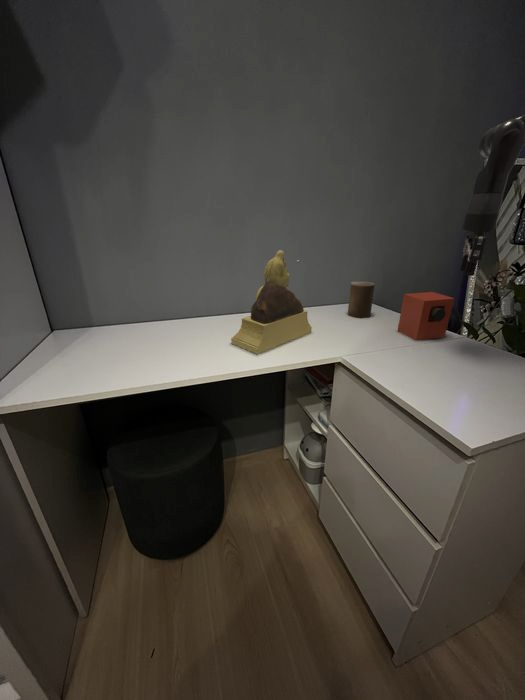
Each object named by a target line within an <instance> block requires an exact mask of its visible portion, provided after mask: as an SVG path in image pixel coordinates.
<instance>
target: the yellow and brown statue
mask: <svg viewBox="0 0 525 700" xmlns="http://www.w3.org/2000/svg"><path fill="white" fill-rule="evenodd" d="M284 257H285V252H284V251H283V250H282V249H280V250H277V251H276V254H275V255H274V256H273V258H271V259H270V260H268V262H266V263H267V264H266V266H265V269H264V270H263V271H264V272H263V278H264V284H263V285H261V286H260V287H259V288H258V290H257V292H256V294H255V301H254V303H253V304H252V306H251V307H250V315H249V316H246V317H245V316H244V317H241V325H240V328H239V330H238V331H237V333H235V334H234V335H233V336H232V337H231V338H230V339H231V340H230V341H231V342H230V343H231V344H232V345H234V346H236V347H239V348H240V349H243V350H244V351H248V352H249V353H253V354H255V355H260V354H262V353H264V352H267V351H269V350H271V349H274V348H276V347H279V346H281V345H283V344H286V343H289V342H291V341H294V340H296V339H298V338H301V337H303V336H306V335H308V334H310V333H312V329H313V327H312V326H311V324H310V322H309V319H308V310H304V307H303V305H302V302H301V301H300V300H299V299H298V298H297V297H296V295H295V293H294V292H292V291H291V290H289V289H288V287H289V281H290V273H288V266H287V262H286V260H285V258H284Z"/></svg>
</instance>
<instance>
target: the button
mask: <svg viewBox="0 0 525 700" xmlns="http://www.w3.org/2000/svg"><path fill="white" fill-rule="evenodd" d="M445 314H446V313H445V310H444V309H441V308H435V309H434V310H433V311H432V312H431V314H430V317H431V319H432V320H434V321H437V322H439V321H441V320H443V318H444V317H445Z"/></svg>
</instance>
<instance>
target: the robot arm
mask: <svg viewBox="0 0 525 700" xmlns="http://www.w3.org/2000/svg"><path fill="white" fill-rule="evenodd" d="M524 145H525V114H522V115H521V116H518V117H516V118H512V119H508V120H506V121H504V122H502V123H499V124H497V125H495V126H493V127H491V128H489V129H488V130H486V131H485V133H484V134H483V135H482V136H481V138H480V140H479V142H478V146H477V151H478V153H479V155H480V156H481V157H483V158H484V159H486V163H485V165H484V166H483V168H482V169H480V170H479V171H478V172H477V174H476V177H475V179H474V181H473V187H472V190H471V195H470V199H469V201H468V204H467V208H466V211H465V216H464V220H463V223H462V227H461V230H462V232H470V233H467V234H466V236H465V240H464V245H463V248H462V252H461V257H462V259H461V264H460V267H459V270H460V271H461V272H464V275H465V276H466V277H467V276H468V277H472V276H474V275H475V273H476V270H477V265H478V263H479V261H481V260H482V256H483V253H484V249H485V246H486V241H487V236H484V234H485V233H486V232H487V233H489V232H493V231H495V229H496V226H497V225H496V224H497V222H498V218H499V215H500V211H501V208H502V204H503V200H504V199H503V198H504V193H505V189H506V187H507V183H508V178H509V175H510V173H511V171H512V169H513V167H514V166H515V164H516V162H517V160H518V157H519V155H520V153H521V151H522V150H523V148H524Z"/></svg>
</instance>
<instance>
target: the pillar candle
mask: <svg viewBox="0 0 525 700" xmlns="http://www.w3.org/2000/svg"><path fill="white" fill-rule="evenodd" d="M375 284H376V283H374V282H370V281H362V280H361V281H351V282H350V290H349V300H348V308H347V315H348V316H351V317H354V318H358V319H359V318H362V319H363V318H364V319H365V318H369V317H371V315H372V308H373V307H372V306H373V301H374V292H375Z"/></svg>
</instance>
